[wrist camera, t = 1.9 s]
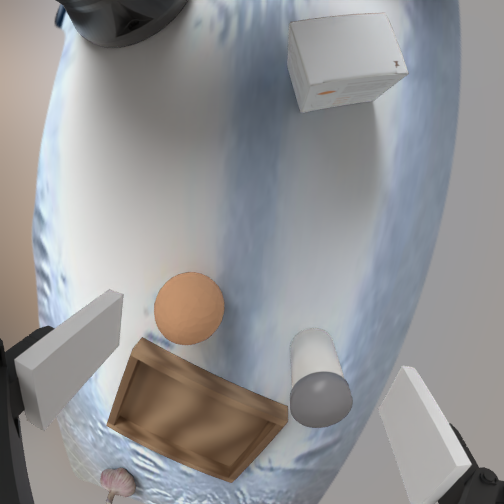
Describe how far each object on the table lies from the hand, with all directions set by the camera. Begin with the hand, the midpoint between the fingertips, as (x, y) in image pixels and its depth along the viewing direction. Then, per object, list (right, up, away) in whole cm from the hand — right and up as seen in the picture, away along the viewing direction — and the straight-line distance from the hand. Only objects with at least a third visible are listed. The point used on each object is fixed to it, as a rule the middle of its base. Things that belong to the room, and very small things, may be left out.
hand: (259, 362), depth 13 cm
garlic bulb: (-24, -36, +31) cm, 54 cm away
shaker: (+6, -6, +22) cm, 23 cm away
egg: (-6, 0, +21) cm, 22 cm away
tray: (-8, -17, +25) cm, 32 cm away
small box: (+8, +22, +15) cm, 28 cm away
